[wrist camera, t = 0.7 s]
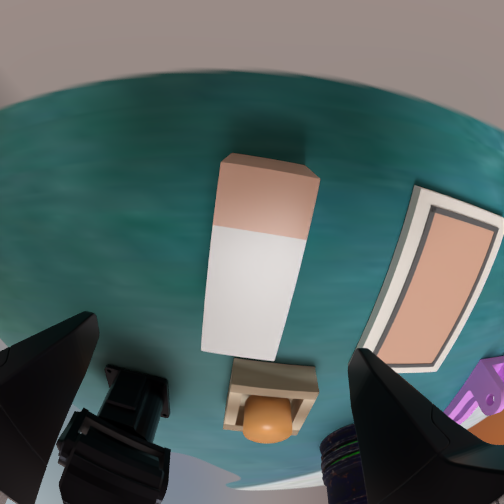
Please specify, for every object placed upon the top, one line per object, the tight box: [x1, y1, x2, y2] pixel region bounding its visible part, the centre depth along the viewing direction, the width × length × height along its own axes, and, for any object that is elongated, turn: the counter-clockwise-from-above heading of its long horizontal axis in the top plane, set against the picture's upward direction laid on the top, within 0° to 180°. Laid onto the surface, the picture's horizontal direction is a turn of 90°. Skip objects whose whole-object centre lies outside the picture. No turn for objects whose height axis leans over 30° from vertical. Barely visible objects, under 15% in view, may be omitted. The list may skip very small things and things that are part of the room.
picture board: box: [348, 185, 504, 373], centre depth 20 cm, size 16×10×1 cm, turn 171°
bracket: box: [443, 356, 504, 424], centre depth 24 cm, size 13×6×7 cm, turn 174°
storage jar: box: [320, 424, 368, 504], centre depth 23 cm, size 10×10×15 cm
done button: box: [243, 395, 292, 443], centre depth 22 cm, size 4×4×3 cm
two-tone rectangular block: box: [201, 153, 320, 361], centre depth 17 cm, size 11×4×5 cm, turn 171°
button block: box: [223, 358, 319, 435], centre depth 24 cm, size 7×7×3 cm
